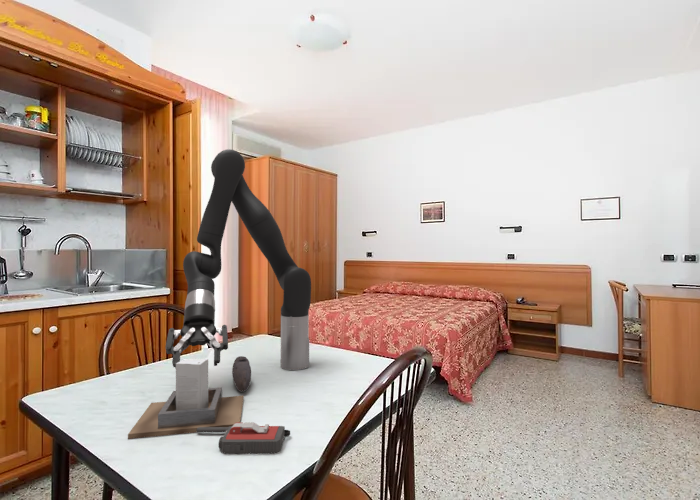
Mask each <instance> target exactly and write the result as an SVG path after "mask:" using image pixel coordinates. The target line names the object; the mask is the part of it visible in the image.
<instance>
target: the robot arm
mask: <svg viewBox="0 0 700 500" xmlns="http://www.w3.org/2000/svg"><path fill="white" fill-rule="evenodd" d="M210 166H211V167H210V170H211V174H212V176H213V178H214V179H213V181H214V182H213V186H212V190H211V193H210V196H209V198H208V201H207V204H206V207H205V209H204V212H203V215H202V219H201V222H200V224H199V225H200V226H199V229H198V232H197V236H196V241H197V243H198V244H200V245H202V246H205V247H206V248H207V249H209V252H210V254H207V253H205V252H204V253H203V252H201V251H194V250H193V251H190V252H188V253H187V254H186V255H185V256H184V258H183V261H182V262H183V263H182V266H183V273H184V275H185V276H184V277H185V280H186V283H187V290H186V291H187V292H186V293H187V294H186V299H185V302H184V303H185V304H184V312H183V313H184V314H183V315H184V316H183V323H182V324H183V325H182V328H181V329H175V328H174V327H170V328H169V329H168V333H167V337H166V341H165V342H166V343H165V352H166V354H167V355H172V363H171V364H172V366H173V367H172V368H175V370H176V363H178V362H180V361H181V354H182V353H183V352H184V351H185V350H186V349H188V348H189V347H190V346H191V347H196V346H205V345H208V346H209V347H210V348H212V349H213V352H214V353H213V367H217V366H218V364H220V363H221V352H222V351H223V350H225V351H227V350H228V349H229V340H228V339H229V338H228V337H229V336H228V325H226V324H222V326H219V327H216V326H215V323H216V322H215V317H216V316H215V315H216V300H215V282H214V279H216V278H217V277H219V275H220V274H221V271H222V241H223V237H224V234H225V230H226V226H227V222H228V217H229V213H230V209H231V205H232V204H233V207H234V208H235V210H236V212H237V214H238V216H239V217H240V219H241V221H242V222H243V224H244V226H245V229H246V230H247V232H248V234H249V235H250V237H251V238H252V240H253V241H254V243H255V244H256V246H257V247H258V249H259V250H260V252H261V253H262V255H263V256H264V257H265V259H266V260H267V261H268V263H269V265H270V267H271V269H272V270H273V274H274V275H275V278H276V280H277V282H278V284H279V286H280V288H281V289H282V290H283V297H282V298H283V301H282V306H281V307H280V368H281V369H283V370H286V371H299V370H303V369H309V368H310V338H309V327H310V326H309V325H310V324H309V321H310V320H309V314H310V313H309V312H310V311H309V310H310V307H311V301H312V299H311V298H312V280H311V275H310V273H309V272H308V270H306V269H304V268H302V267H299V266H298V265H297V264H296V262H295V261H294V259H293V258H292V256H291V255H290V254H289V252H288V249H287V247H286V244H285V241H284V237H283V234H282V231H281V229H280V227H279V224H278V223H277V221H276V220H275V218H274V216H273V214H272V213H271V212H270V211H271V210H269V209H268V208H267V206H266V205H265V204H264V203H263V202H262V201H261V200H260V199H259V198H258V197H257V196H256V195H255V194H254V192H252V190H251V189H250V187H249V185H248V183H247V181H246V180H245V178H244V176H243V174H244V172H245V169H246V163H245V159H244V157H243V155H242V154H240V152H238V151H237V150H235V149H231V148H230V149H229V148H228V149H223V150H222V151H220V152H219V153H217V155H216V156H215V157H214V159H213V160H212V162H211V165H210ZM216 334H218V335H219V336H220V337H222V338H221V339H222V342H221V343H220V342H219V341H218V340H217V339H216V337H215V335H216ZM179 336H180V337H181V338H180V339H179V342H178V343H177V344H176V345H175V346H174V344H175V343H174V342H175V340H177V339H178V337H179Z"/></svg>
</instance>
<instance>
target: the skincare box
mask: <svg viewBox="0 0 700 500" xmlns="http://www.w3.org/2000/svg"><path fill="white" fill-rule="evenodd" d="M208 388H209V359H208V358H184V359H182V360H180V362H178V363H176V369H175V391H176V411H178V410H190V409H202V408H208Z"/></svg>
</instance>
